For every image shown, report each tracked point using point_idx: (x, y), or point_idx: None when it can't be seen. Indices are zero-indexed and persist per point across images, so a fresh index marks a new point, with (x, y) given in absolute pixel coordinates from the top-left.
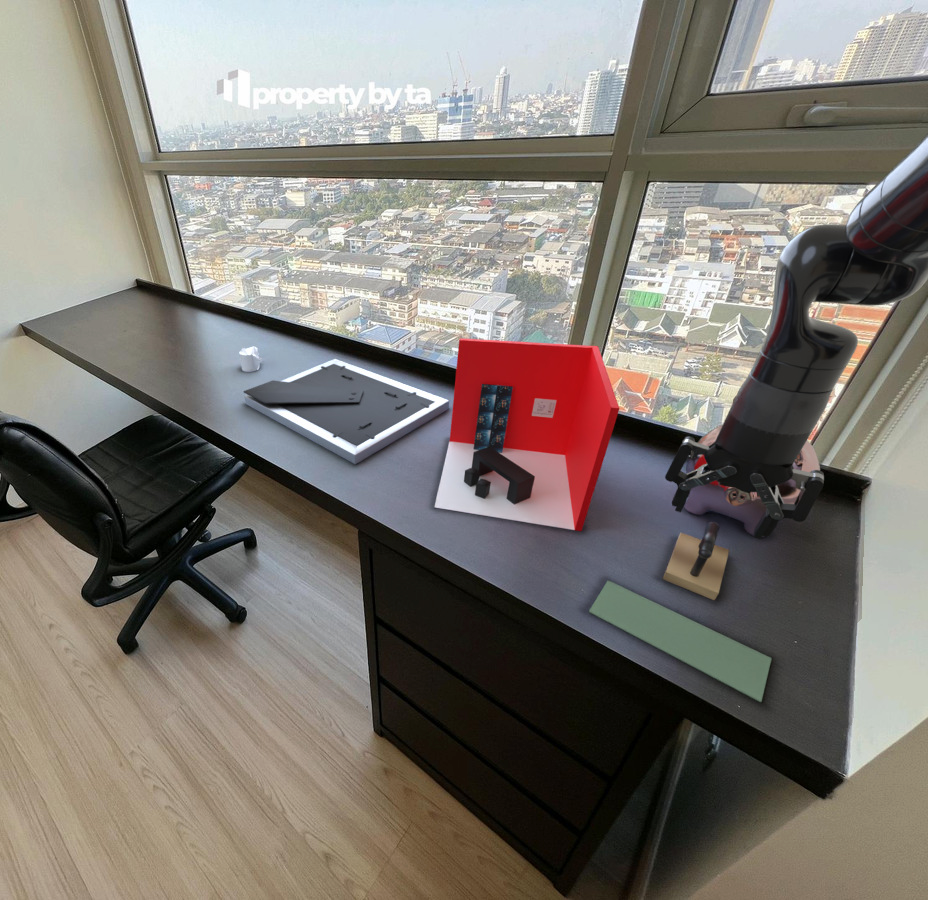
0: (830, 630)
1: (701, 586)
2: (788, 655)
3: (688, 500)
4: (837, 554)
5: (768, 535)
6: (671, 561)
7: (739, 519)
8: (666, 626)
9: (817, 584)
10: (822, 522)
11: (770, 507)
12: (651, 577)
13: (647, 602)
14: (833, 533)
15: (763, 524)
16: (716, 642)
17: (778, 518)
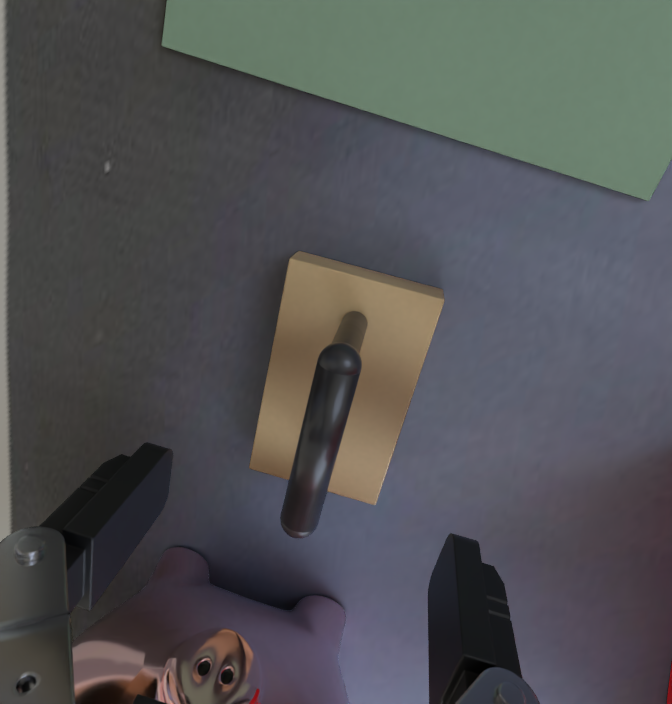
0: (37, 255)
1: (337, 270)
2: (122, 94)
3: (339, 640)
4: None
5: (112, 461)
6: (419, 360)
7: (218, 588)
8: (463, 31)
9: (65, 417)
10: None
11: (44, 596)
12: (477, 285)
13: (513, 139)
14: None
15: (115, 500)
16: (307, 34)
17: (29, 531)
